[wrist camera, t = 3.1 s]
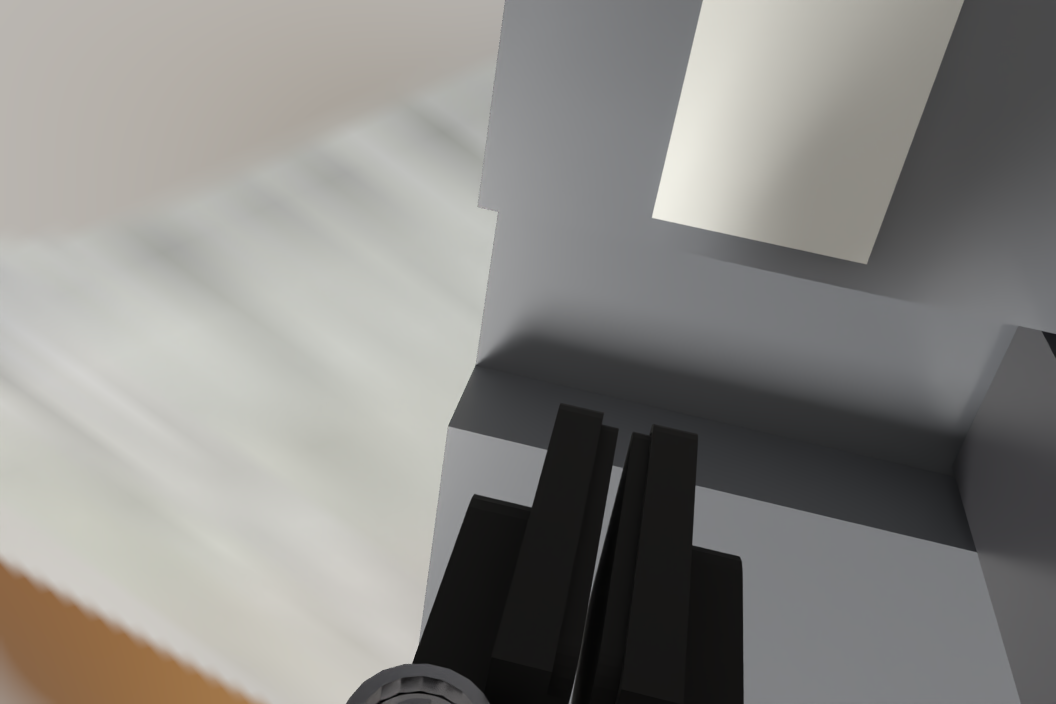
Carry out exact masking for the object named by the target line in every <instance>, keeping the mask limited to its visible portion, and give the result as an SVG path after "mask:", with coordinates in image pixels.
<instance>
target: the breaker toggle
mask: <svg viewBox="0 0 1056 704" xmlns="http://www.w3.org/2000/svg"><path fill="white" fill-rule="evenodd" d="M952 468H953V472H954V475H955V478H956V482H957V485H958V489H959V492H960V496H961V499H962V503H963V506H964V509H965V513H966V516H967V520H968V523H969V527H970V530H971V533H972V537H973V540H974V544H975V547H976V551H977V554H978V558H979V561H980V564H981V568H982V571H983V575H984V578H985V582H986V585H987V589H988V592H989V595H990V599H991V602H992V606H993V609H994V613H995V616H996V619H997V623H998V626H999V630H1000V633H1001V637H1002V640H1003V644H1004V647H1005V650H1006V654H1007V657H1008V661H1009V664H1010V668H1011V671H1012V675H1013V678H1014V681H1015V685H1016V688H1017V692H1018V695H1019V699H1020V702H1021V704H1056V334H1054V333H1049V332H1045V331H1040V330H1035V329H1031V328H1026V327H1022V326H1018V328H1017V330H1016V332H1015V335H1014V337H1013V339H1012V341H1011V343H1010V345H1009V347H1008V349H1007V351H1006V353H1005V356H1004V358H1003V360H1002V362H1001V364H1000V366H999V368H998V370H997V372H996V374H995V376H994V379H993V381H992V383H991V385H990V387H989V389H988V391H987V393H986V395H985V397H984V400H983V402H982V404H981V406H980V408H979V410H978V412H977V414H976V416H975V418H974V421H973V423H972V425H971V427H970V429H969V431H968V433H967V435H966V437H965V439H964V442H963V444H962V446H961V448H960V450H959V452H958V454H957V456H956V458H955V460H954V463H953V465H952Z"/></svg>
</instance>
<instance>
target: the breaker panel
mask: <svg viewBox="0 0 1056 704" xmlns="http://www.w3.org/2000/svg"><path fill="white" fill-rule="evenodd" d="M478 207H479V208H483V209H488V210H493V211H497V212H498V216H497V223H496V230H495V237H494V243H493V250H492V257H491V264H490V271H489V278H488V284H487V291H486V298H485V305H484V312H483V319H482V326H481V332H480V339H479V346H478V353H477V360H476V366H475V368H474V370H473V372H472V375H471V377H470V379H469V381H468V383H467V386H466V388H465V390H464V392H463V394H462V397H461V399H460V401H459V403H458V406H457V408H456V410H455V412H454V414H453V417H452V419H451V421H450V423H449V425H448V431H447V438H446V446H445V453H444V460H443V468H442V475H441V483H440V490H439V498H438V505H437V513H436V520H435V528H434V535H433V543H432V550H431V557H430V565H429V572H428V580H427V587H426V595H425V602H424V610H423V617H422V625H421V632H420V640H421V638H422V635H423V632H424V629H425V626H426V624H427V621H428V618H429V615H430V612H431V610H432V607H433V604H434V601H435V598H436V595H437V593H438V590H439V587H440V584H441V581H442V579H443V576H444V573H445V570H446V567H447V565H448V562H449V559H450V556H451V553H452V551H453V548H454V545H455V542H456V539H457V537H458V534H459V531H460V528H461V525H462V522H463V520H464V517H465V514H466V511H467V508H468V506H469V503H470V501H471V498H472V496H473V495H474V494H477V495H481V496H486V497H490V498H494V499H498V500H503V501H507V502H511V503H515V504H520V505H524V506H528V507H532V505H533V501H534V497H535V494H536V490H537V486H538V483H539V479H540V475H541V472H542V468H543V464H544V461H545V457H546V453H547V450H548V446H549V442H550V439H551V435H552V431H553V427H554V424H555V420H556V416H557V413H558V409H559V406H560V403H564V404H568V405H573V406H577V407H582V408H586V409H590V410H595V411H599V412H604V415H603V421H602V425H607V426H611V427H615V428H619V431H618V437H617V443H616V449H615V455H614V460H613V466H612V472H611V478H610V483H609V489H608V495H607V501H606V506H605V512H604V518H603V524H602V529H601V535H600V541H599V547H598V552H597V558H596V564H595V570H594V575H593V581H592V587H591V592H592V588H593V584H594V580H595V576H596V572H597V568H598V564H599V560H600V556H601V552H602V548H603V545H604V541H605V537H606V533H607V529H608V525H609V521H610V517H611V513H612V509H613V506H614V502H615V498H616V494H617V490H618V486H619V482H620V478H621V474H622V470H623V467H624V463H625V459H626V455H627V451H628V447H629V443H630V439H631V436H632V433H633V432H637V433H642V434H646V435H649V433H650V430H651V427H652V425H653V424H656V425H661V426H665V427H670V428H674V429H678V430H683V431H687V432H692V433H696V434H698V451H697V469H696V487H695V505H694V523H693V541H692V545H694V546H698V547H702V548H706V549H711V550H715V551H719V552H723V553H728V554H732V555H736V556H740V558H741V560H742V568H743V663H744V704H1021V702H1020V699H1019V695H1018V692H1017V688H1016V685H1015V681H1014V678H1013V675H1012V671H1011V668H1010V664H1009V661H1008V657H1007V654H1006V650H1005V647H1004V644H1003V640H1002V637H1001V633H1000V630H999V626H998V623H997V619H996V616H995V613H994V609H993V606H992V602H991V599H990V595H989V592H988V589H987V585H986V582H985V578H984V575H983V571H982V568H981V564H980V561H979V558H978V554H977V551H976V547H975V544H974V540H973V537H972V533H971V530H970V527H969V523H968V520H967V516H966V513H965V509H964V506H963V503H962V499H961V496H960V492H959V489H958V485H957V482H956V478H955V475H954V472H953V468H952V465H953V463H954V460H955V458H956V456H957V454H958V452H959V450H960V448H961V446H962V444H963V442H964V439H965V437H966V435H967V433H968V431H969V429H970V427H971V425H972V423H973V421H974V418H975V416H976V414H977V412H978V410H979V408H980V406H981V404H982V402H983V400H984V397H985V395H986V393H987V391H988V389H989V387H990V385H991V383H992V381H993V379H994V376H995V374H996V372H997V370H998V368H999V366H1000V364H1001V362H1002V360H1003V358H1004V356H1005V353H1006V351H1007V349H1008V347H1009V345H1010V343H1011V341H1012V339H1013V337H1014V335H1015V332H1016V330H1017V328H1018V326H1022V327H1026V328H1031V329H1035V330H1040V331H1045V332H1049V333H1054V334H1056V0H505V5H504V13H503V20H502V28H501V35H500V43H499V50H498V58H497V65H496V73H495V80H494V87H493V95H492V102H491V110H490V117H489V125H488V132H487V140H486V147H485V155H484V162H483V170H482V177H481V184H480V192H479V199H478ZM590 596H591V593H590ZM589 600H590V598H589ZM588 605H589V604H588ZM420 640H419V643H420ZM575 677H576V675H575ZM574 683H575V680H574ZM573 689H574V684H573ZM573 689H572V693H571V697H570V701H569V704H571V700H572V694H573Z"/></svg>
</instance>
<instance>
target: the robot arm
mask: <svg viewBox="0 0 1056 704" xmlns="http://www.w3.org/2000/svg"><path fill="white" fill-rule="evenodd" d="M603 415H604V412H599V411H595V410H590V409H586V408H582V407H577V406H573V405H568V404H564V403H560V406H559V409H558V413H557V416H556V420H555V424H554V427H553V431H552V435H551V439H550V442H549V446H548V450H547V453H546V457H545V461H544V464H543V468H542V472H541V475H540V479H539V483H538V486H537V490H536V494H535V497H534V501H533V505H532V507H528V506H524V505H520V504H515V503H511V502H507V501H503V500H498V499H494V498H490V497H486V496H481V495H477V494H474V495H473V496H472V498H471V501H470V503H469V506H468V508H467V511H466V514H465V517H464V520H463V522H462V525H461V528H460V531H459V534H458V537H457V539H456V542H455V545H454V548H453V551H452V553H451V556H450V559H449V562H448V565H447V567H446V570H445V573H444V576H443V579H442V581H441V584H440V587H439V590H438V593H437V595H436V598H435V601H434V604H433V607H432V610H431V612H430V615H429V618H428V621H427V624H426V626H425V629H424V632H423V635H422V638H421V640H420V643H419V646H418V649H417V652H416V654H415V657H414V660H413V663H412V664H403V665H400V666H396V667H393V668H389V669H385V670H382V671H381V672H379V673H377V674H376V675H374V676H373V677H371V678H369V679H368V680H366V681H364V682H363V683H362V684H361V686H360V687H359V688H358V689H357V690H356V691H355V692H354V694H353V695H352V696H351V697H350V698H349V700H348V701H347V703H346V704H569V701H570V697H571V693H572V689H573V684H574V689H573V694H572V700H571V704H744V663H743V568H742V560H741V558H740V556H736V555H732V554H728V553H723V552H719V551H715V550H711V549H706V548H702V547H698V546H694V545H692V541H693V523H694V505H695V487H696V469H697V451H698V434H696V433H692V432H687V431H683V430H678V429H674V428H670V427H665V426H661V425H656V424H653V425H652V427H651V430H650V433H649V435H646V434H642V433H637V432H633V433H632V436H631V439H630V443H629V447H628V451H627V455H626V459H625V463H624V467H623V470H622V474H621V478H620V482H619V486H618V490H617V494H616V498H615V502H614V506H613V509H612V513H611V517H610V521H609V525H608V529H607V533H606V537H605V541H604V545H603V548H602V552H601V556H600V560H599V564H598V568H597V572H596V576H595V580H594V584H593V588H592V592H591V587H592V581H593V575H594V570H595V564H596V558H597V552H598V547H599V541H600V535H601V529H602V524H603V518H604V512H605V506H606V501H607V495H608V489H609V483H610V478H611V472H612V466H613V460H614V455H615V449H616V443H617V437H618V431H619V428H615V427H611V426H607V425H602V421H603ZM590 593H591V596H590ZM589 598H590V600H589ZM588 604H589V605H588ZM575 675H576V677H575ZM574 680H575V683H574Z"/></svg>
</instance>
